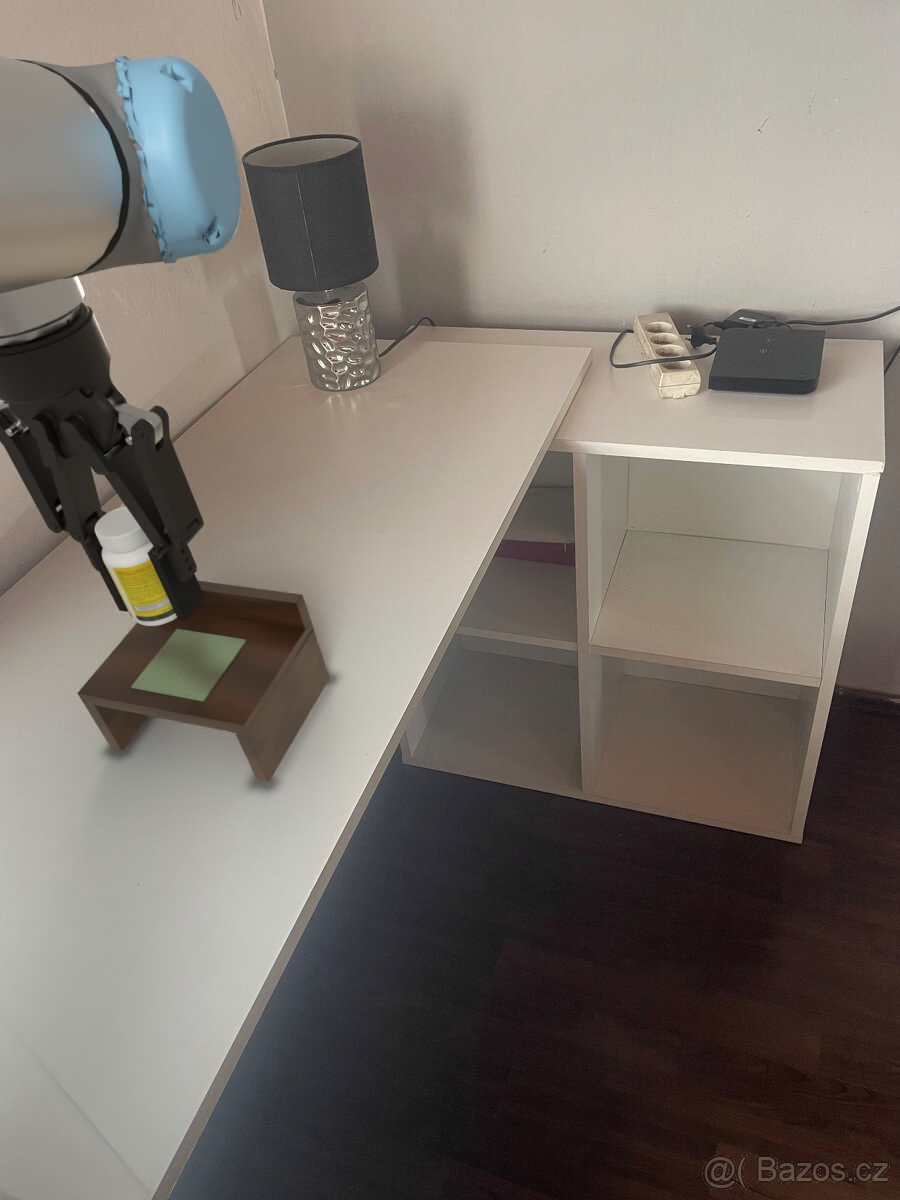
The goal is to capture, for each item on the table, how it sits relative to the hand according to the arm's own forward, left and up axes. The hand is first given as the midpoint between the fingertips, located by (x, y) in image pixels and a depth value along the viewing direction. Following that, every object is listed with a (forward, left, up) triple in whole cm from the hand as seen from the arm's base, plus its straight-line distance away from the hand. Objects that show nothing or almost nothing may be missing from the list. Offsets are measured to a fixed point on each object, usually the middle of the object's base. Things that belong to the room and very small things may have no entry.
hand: (161, 603), depth 68 cm
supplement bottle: (0, 0, -1) cm, 1 cm away
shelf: (+1, 0, -14) cm, 14 cm away
